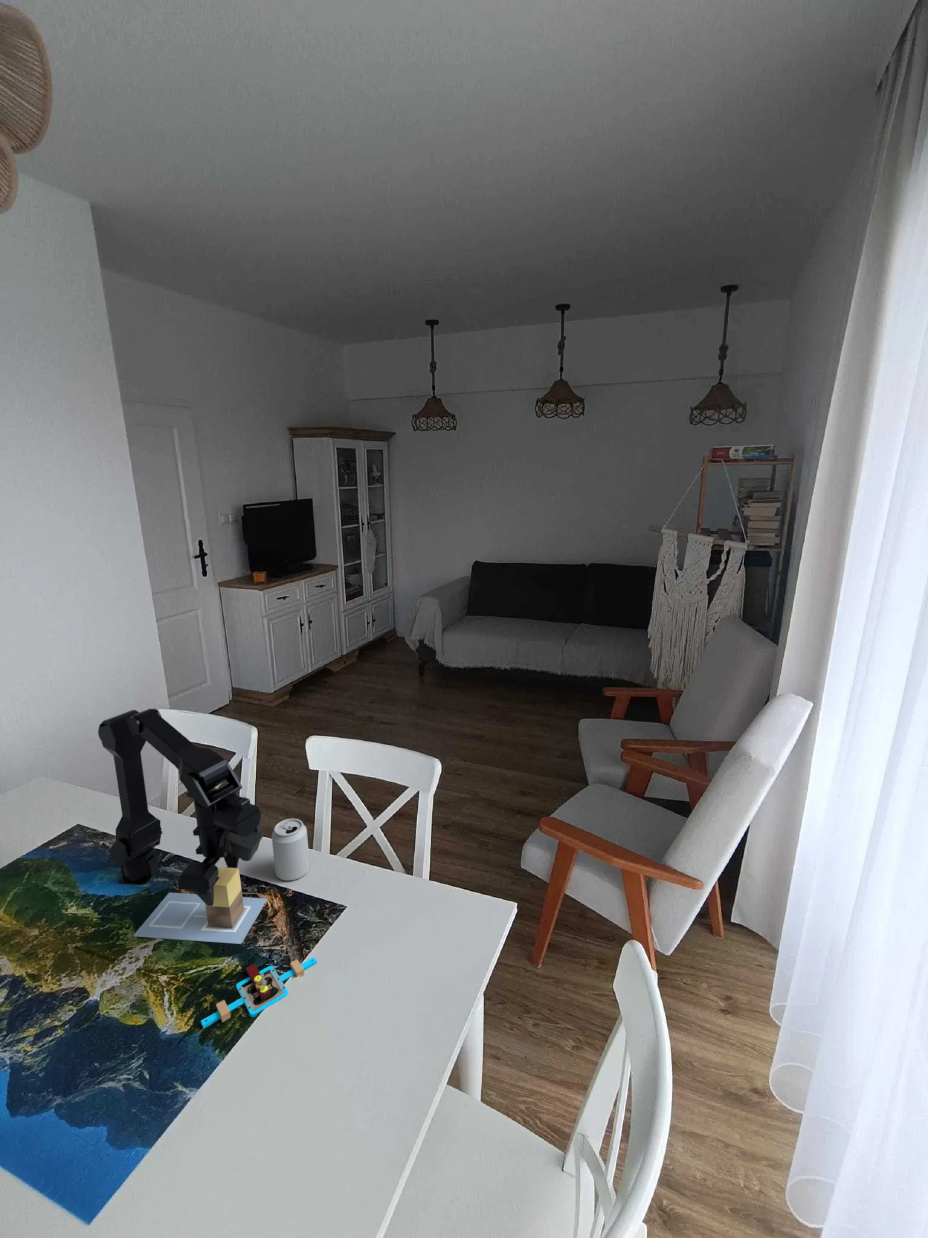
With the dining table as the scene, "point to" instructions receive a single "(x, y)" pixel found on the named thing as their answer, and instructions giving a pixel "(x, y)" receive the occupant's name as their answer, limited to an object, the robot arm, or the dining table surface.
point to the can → (290, 849)
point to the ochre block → (226, 887)
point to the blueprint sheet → (196, 920)
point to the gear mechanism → (262, 989)
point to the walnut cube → (225, 913)
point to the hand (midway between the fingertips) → (222, 888)
